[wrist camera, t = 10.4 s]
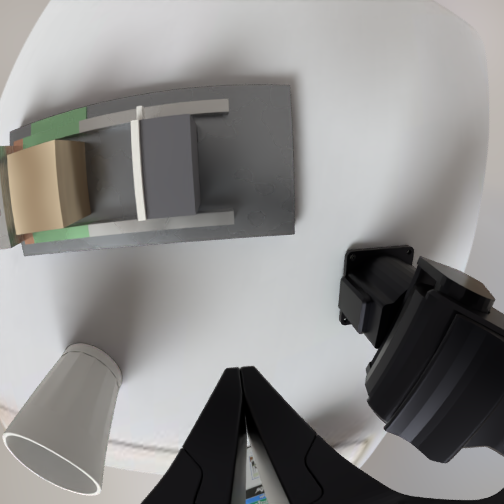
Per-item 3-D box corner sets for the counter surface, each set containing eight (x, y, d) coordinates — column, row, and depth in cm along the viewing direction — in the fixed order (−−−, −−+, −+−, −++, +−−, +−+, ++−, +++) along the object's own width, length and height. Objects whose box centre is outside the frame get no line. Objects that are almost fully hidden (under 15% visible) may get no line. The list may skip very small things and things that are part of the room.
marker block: (84, 141, 16) (54, 139, 12) (91, 214, 17) (63, 228, 14) (40, 153, 15) (7, 155, 12) (47, 220, 17) (16, 235, 13)
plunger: (196, 109, 16) (188, 95, 12) (200, 203, 18) (195, 215, 14) (148, 115, 16) (128, 104, 12) (154, 207, 17) (136, 221, 13)
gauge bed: (285, 89, 17) (294, 80, 15) (290, 230, 20) (299, 239, 18) (18, 132, 15) (0, 131, 13) (31, 251, 19) (16, 261, 16)
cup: (43, 340, 21) (-16, 425, 10) (107, 330, 21) (52, 440, 10) (81, 399, 24) (48, 486, 12) (143, 395, 24) (122, 500, 13)
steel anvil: (22, 145, 15) (-2, 146, 12) (32, 236, 17) (11, 248, 14) (10, 150, 15) (-14, 151, 12) (20, 238, 17) (-2, 249, 14)
